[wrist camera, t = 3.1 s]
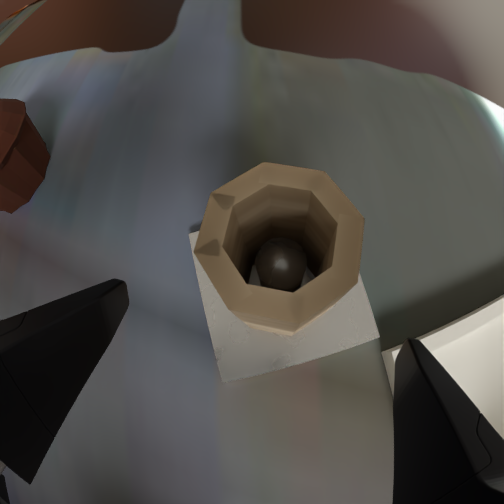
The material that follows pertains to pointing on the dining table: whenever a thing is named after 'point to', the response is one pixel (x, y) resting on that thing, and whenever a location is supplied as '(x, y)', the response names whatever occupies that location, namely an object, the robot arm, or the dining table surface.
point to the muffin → (19, 156)
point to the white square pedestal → (273, 344)
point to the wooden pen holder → (273, 226)
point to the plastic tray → (470, 357)
